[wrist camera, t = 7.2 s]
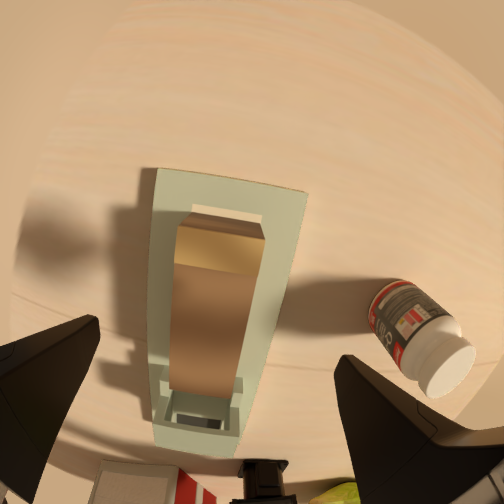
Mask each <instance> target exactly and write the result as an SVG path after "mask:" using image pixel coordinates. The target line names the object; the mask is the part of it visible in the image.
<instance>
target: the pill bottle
mask: <svg viewBox="0 0 504 504" xmlns="http://www.w3.org/2000/svg"><path fill="white" fill-rule="evenodd" d="M368 319H369V324H370V327H371V329H372V330H373V332H374V333H375V335H376V336H377V337H378V339H379V340H380V341H381V343H382V344H383V346H384V347H385V348H386V350H387V351H388V353H389V354H390V356H391V357H392V358H393V360H394V361H395V363H396V365H397V366H398V368H399V369H400V371H401V372H402V373H403V374H404V375H405V376H406V377H407V378H408V379H410V380H413V381H418V384H419V387H420V389H421V390H422V391H423V392H424V394H425V395H426V396H427V397H428V398H430V399H435V398H439V397H442V396H444V395H446V394H447V393H449V392H450V391H452V390H453V389H454V388H455V387H456V386H457V385H459V384H460V382H461V381H462V380H463V379H464V378H465V377H466V375H467V374H468V372H469V371H470V369H471V367H472V365H473V363H474V360H475V356H476V350H475V348H474V347H473V345H472V344H471V343H470V342H469V341H468V340H467V339H465V338H463V337H461V328H460V325H459V323H458V322H457V321H456V320H455V319H454V317H453V316H451V315H450V314H449V313H448V312H447V311H446V310H444V309H443V308H442V307H441V306H440V305H439V304H437V303H436V302H435V301H434V300H433V299H431V298H430V297H429V296H428V295H427V294H426V293H424V292H423V291H422V290H421V289H419V288H418V287H417V286H416V285H415V284H413V283H411V282H409V281H404V280H401V281H395V282H393V283H390V284H389V285H387V286H385V287H384V288H383V289H382V290H381V291H380V292H379V293H378V294H377V295H376V296H375V298H374V300H373V301H372V303H371V306H370V309H369V314H368Z"/></svg>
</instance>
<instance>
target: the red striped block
mask: <svg viewBox="0 0 504 504" xmlns="http://www.w3.org/2000/svg"><path fill="white" fill-rule="evenodd" d="M88 504H217V497H215V496H214V495H213V494H211V493H210V492H209V491H207V490H206V489H205V488H203V486H202V485H200V484H199V483H197V482H196V481H194V480H193V479H192V478H191V477H190V476H188V475H187V474H186V473H185V472H184V471H182V470H181V469H180V468H179V467H177V466H172V465H146V464H133V463H123V462H115V461H108V460H102V461H101V464H100V467H99V470H98V473H97V476H96V479H95V482H94V485H93V489H92V492H91V495H90V498H89V502H88Z"/></svg>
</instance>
